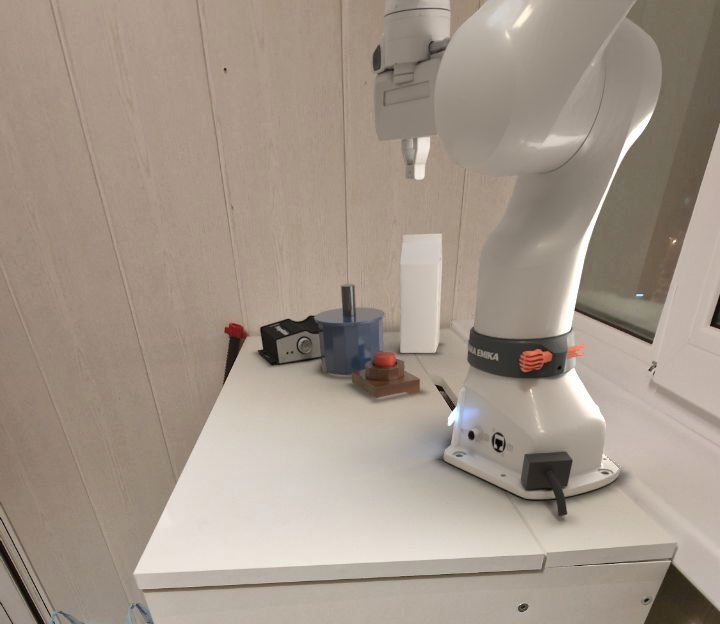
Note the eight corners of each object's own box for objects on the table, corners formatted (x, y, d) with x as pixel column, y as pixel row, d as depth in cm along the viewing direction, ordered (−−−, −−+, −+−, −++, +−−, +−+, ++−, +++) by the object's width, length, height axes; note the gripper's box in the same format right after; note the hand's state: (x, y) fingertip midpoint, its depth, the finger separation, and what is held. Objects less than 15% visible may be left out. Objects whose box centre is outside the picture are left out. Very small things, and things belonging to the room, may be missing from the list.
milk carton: (435, 353, 110) (440, 235, 97) (399, 353, 111) (399, 237, 98) (438, 344, 115) (443, 231, 102) (404, 344, 116) (405, 232, 104)
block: (419, 392, 92) (420, 366, 90) (376, 401, 90) (375, 375, 88) (393, 377, 99) (392, 353, 97) (352, 385, 97) (351, 360, 95)
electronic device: (252, 323, 114) (343, 310, 119) (257, 352, 117) (344, 338, 122) (269, 336, 104) (366, 322, 109) (273, 367, 108) (368, 352, 113)
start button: (399, 366, 92) (399, 355, 90) (379, 370, 91) (379, 358, 90) (389, 361, 94) (389, 350, 93) (370, 365, 93) (370, 353, 92)
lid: (396, 323, 97) (396, 285, 93) (330, 334, 93) (327, 295, 90) (367, 311, 106) (365, 276, 102) (305, 320, 102) (301, 284, 98)
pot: (394, 371, 102) (393, 319, 97) (336, 382, 99) (332, 328, 93) (368, 356, 110) (366, 308, 105) (313, 366, 107) (309, 316, 101)
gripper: (478, 34, 69) (469, 178, 78) (403, 58, 83) (403, 177, 92) (434, 33, 67) (430, 181, 76) (365, 58, 81) (369, 180, 91)
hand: (415, 179), depth 84 cm, fingers closed
